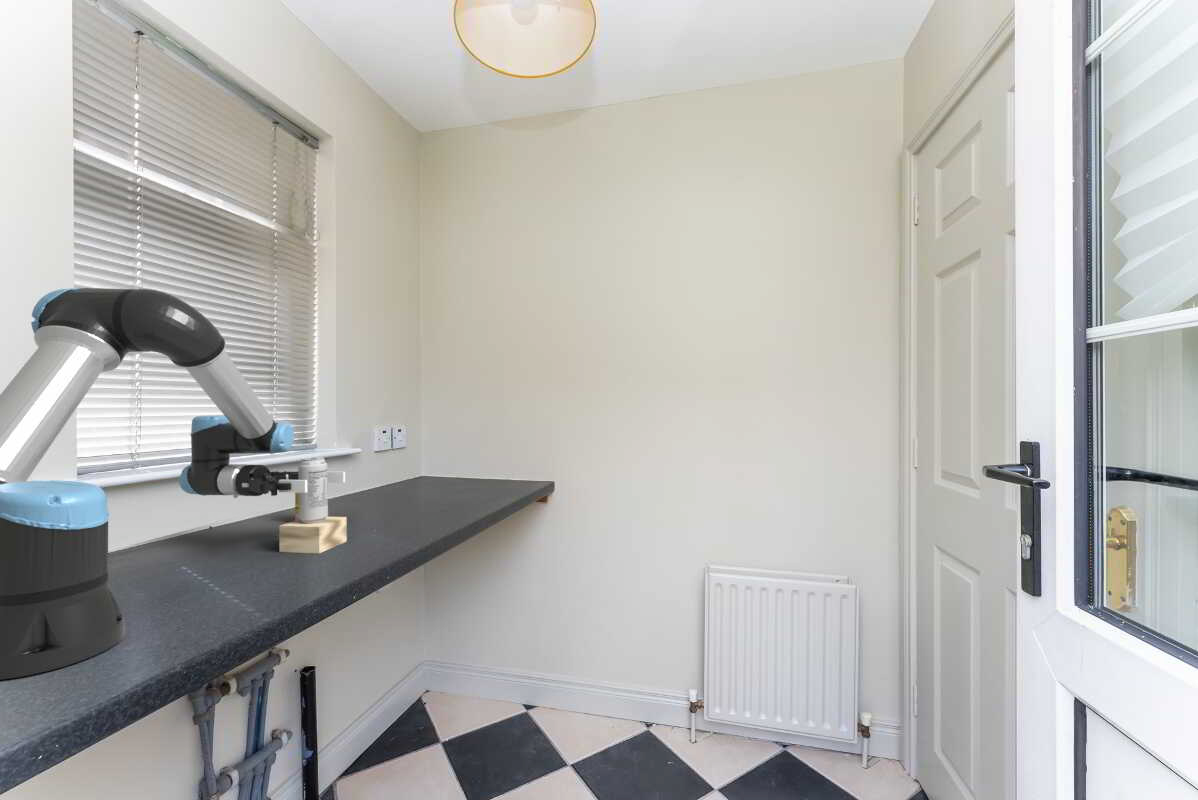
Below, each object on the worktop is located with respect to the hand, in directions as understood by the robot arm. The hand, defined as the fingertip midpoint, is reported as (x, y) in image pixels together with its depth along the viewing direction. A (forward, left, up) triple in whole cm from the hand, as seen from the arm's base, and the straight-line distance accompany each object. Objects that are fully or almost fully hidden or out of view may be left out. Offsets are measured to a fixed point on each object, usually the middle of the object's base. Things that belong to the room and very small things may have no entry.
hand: (326, 481), depth 123 cm
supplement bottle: (+23, +22, -16) cm, 36 cm away
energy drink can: (0, +3, -10) cm, 10 cm away
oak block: (0, +3, -15) cm, 16 cm away
